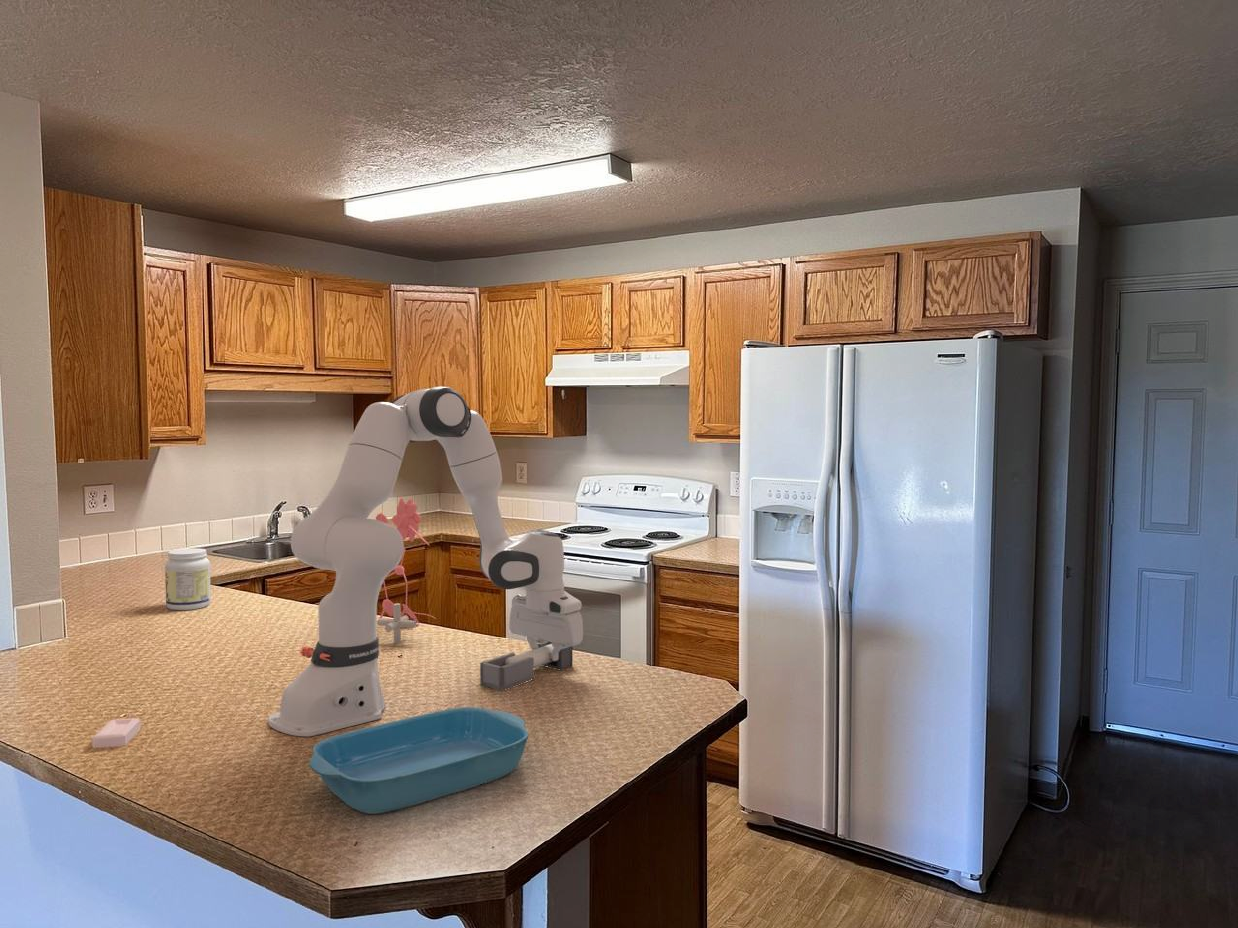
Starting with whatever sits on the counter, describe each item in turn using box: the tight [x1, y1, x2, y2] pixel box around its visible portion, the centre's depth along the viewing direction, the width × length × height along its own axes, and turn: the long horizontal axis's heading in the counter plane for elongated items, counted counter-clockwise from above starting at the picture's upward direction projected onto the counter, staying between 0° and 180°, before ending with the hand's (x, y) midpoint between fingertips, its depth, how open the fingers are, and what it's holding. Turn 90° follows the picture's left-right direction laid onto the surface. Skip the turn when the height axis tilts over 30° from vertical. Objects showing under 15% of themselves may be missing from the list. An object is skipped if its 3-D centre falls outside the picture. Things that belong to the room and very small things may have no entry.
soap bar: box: [91, 717, 142, 749], centre depth 160 cm, size 5×9×2 cm, turn 11°
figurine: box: [375, 497, 437, 631], centre depth 247 cm, size 15×26×35 cm, turn 47°
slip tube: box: [505, 644, 554, 669], centre depth 200 cm, size 15×4×4 cm, turn 143°
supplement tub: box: [164, 547, 212, 611], centre depth 262 cm, size 12×12×17 cm
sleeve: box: [479, 652, 535, 692], centre depth 193 cm, size 10×7×5 cm, turn 143°
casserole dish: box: [308, 706, 529, 815], centre depth 143 cm, size 37×22×7 cm, turn 131°
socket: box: [537, 640, 574, 671], centre depth 206 cm, size 4×8×5 cm, turn 53°
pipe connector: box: [377, 602, 418, 644], centre depth 225 cm, size 10×10×10 cm
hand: (545, 658), depth 203 cm, fingers closed on slip tube, 4 cm apart
